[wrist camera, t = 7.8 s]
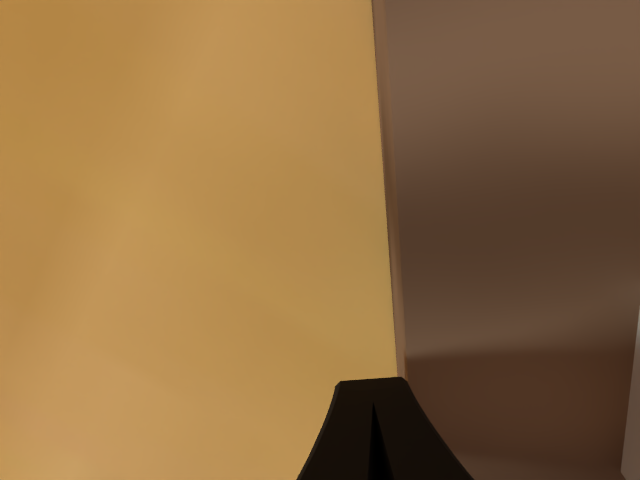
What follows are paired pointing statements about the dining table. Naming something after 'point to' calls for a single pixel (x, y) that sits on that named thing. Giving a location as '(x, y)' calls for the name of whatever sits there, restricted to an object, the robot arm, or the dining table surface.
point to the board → (514, 225)
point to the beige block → (633, 421)
